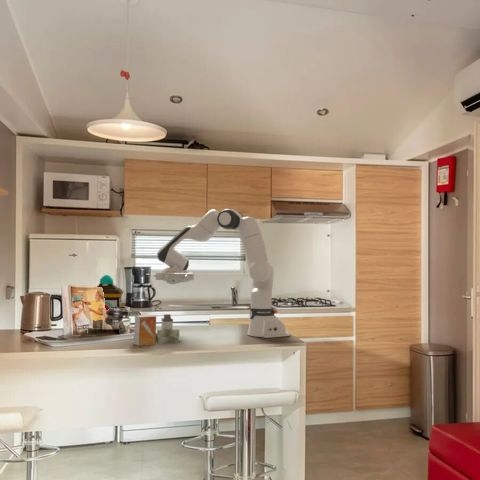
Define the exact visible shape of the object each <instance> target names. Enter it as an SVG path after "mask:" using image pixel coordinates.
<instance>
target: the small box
mask: <svg viewBox="0 0 480 480" xmlns="http://www.w3.org/2000/svg"><path fill="white" fill-rule="evenodd" d="M156 329H157V316H156V315H153V314H140V315H139V314H138V315H134V332H133V333H134V334H133V344H134V345H136V346H138V347H141V346H155V345H156V341H155V337H156V333H157V330H156Z"/></svg>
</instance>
